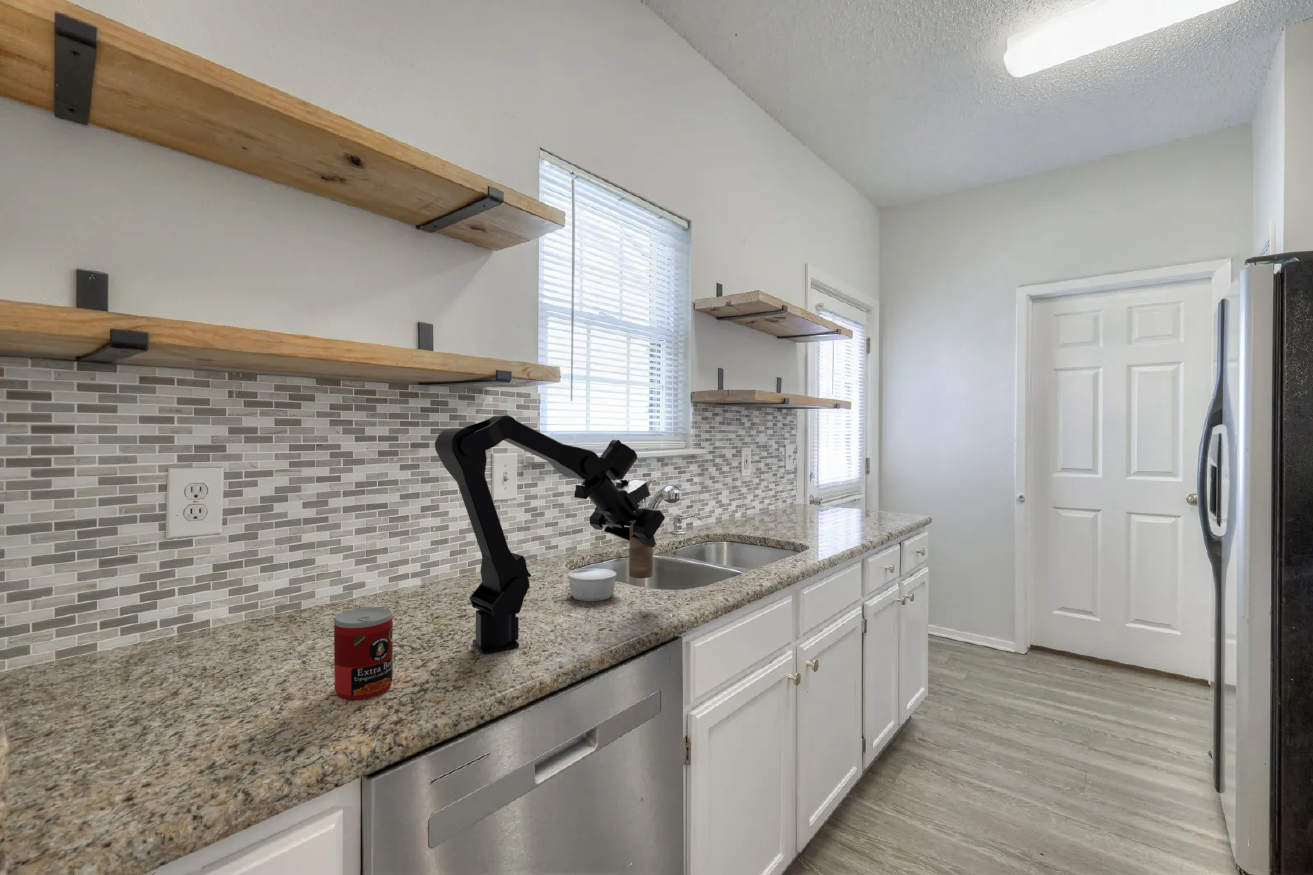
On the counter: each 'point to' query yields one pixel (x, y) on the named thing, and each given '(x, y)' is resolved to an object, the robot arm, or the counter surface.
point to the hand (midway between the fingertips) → (645, 544)
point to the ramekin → (592, 584)
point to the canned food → (363, 653)
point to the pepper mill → (640, 556)
